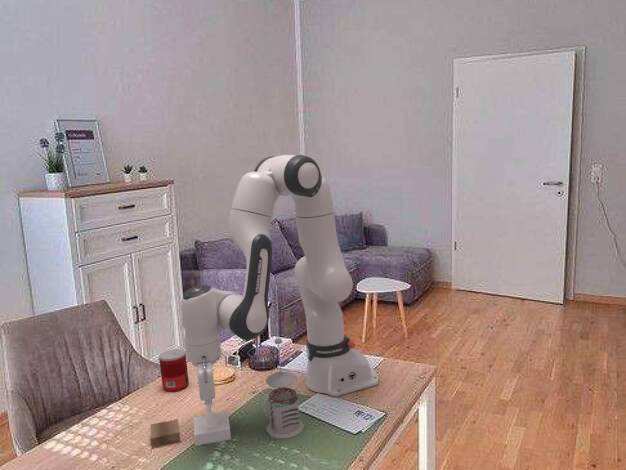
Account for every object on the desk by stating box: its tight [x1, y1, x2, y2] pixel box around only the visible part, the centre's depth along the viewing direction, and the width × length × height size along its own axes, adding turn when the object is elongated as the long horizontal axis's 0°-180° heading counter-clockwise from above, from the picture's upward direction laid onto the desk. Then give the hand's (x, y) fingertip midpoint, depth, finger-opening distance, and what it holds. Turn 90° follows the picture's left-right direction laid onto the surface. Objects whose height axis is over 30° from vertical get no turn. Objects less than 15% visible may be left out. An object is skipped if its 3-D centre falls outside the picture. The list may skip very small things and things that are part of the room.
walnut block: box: [150, 418, 181, 449], centre depth 138 cm, size 7×7×3 cm
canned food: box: [158, 348, 190, 393], centre depth 165 cm, size 8×8×11 cm
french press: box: [259, 337, 305, 439], centre depth 136 cm, size 10×12×25 cm
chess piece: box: [201, 402, 220, 428], centre depth 137 cm, size 5×5×10 cm
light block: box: [193, 411, 232, 447], centre depth 138 cm, size 9×9×3 cm
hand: (208, 399), depth 137 cm, fingers closed on chess piece
